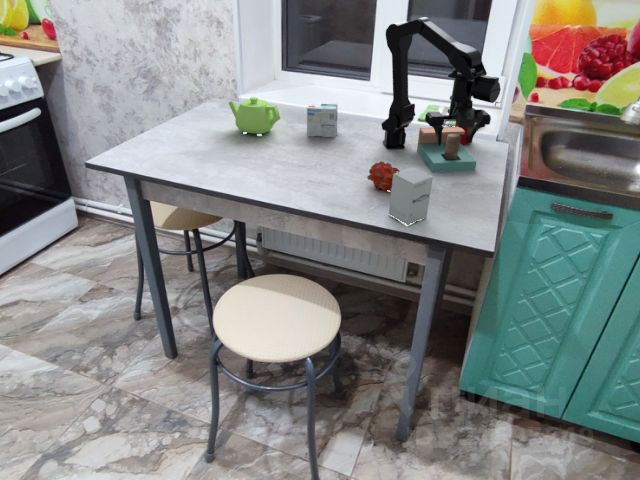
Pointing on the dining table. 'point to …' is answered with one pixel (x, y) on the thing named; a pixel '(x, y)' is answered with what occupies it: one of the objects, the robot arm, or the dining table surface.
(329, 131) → the light bulb box
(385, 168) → the dragon fruit
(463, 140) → the beverage can
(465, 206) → the dining table surface
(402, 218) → the supplement box
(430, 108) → the dish towel
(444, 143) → the socket plate
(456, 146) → the walnut peg
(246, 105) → the teapot
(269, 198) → the dining table surface
